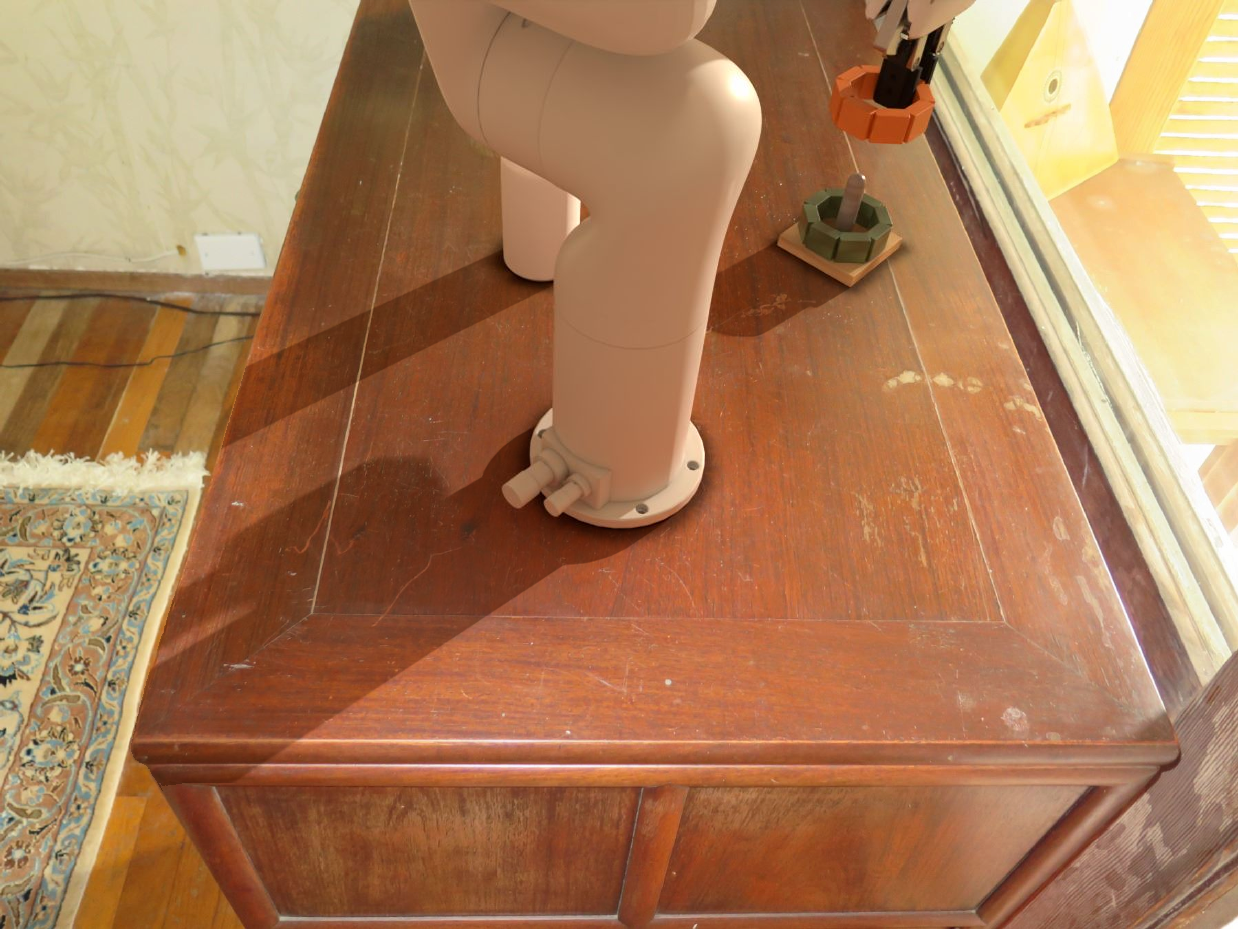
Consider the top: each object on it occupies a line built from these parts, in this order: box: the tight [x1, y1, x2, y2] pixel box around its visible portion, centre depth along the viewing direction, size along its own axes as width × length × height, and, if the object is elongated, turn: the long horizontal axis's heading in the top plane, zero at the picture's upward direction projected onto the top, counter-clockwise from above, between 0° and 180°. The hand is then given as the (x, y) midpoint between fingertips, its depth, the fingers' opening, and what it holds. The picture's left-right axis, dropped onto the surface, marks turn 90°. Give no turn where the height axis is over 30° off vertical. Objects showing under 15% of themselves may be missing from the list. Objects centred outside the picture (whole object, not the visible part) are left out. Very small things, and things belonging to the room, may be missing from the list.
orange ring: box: [828, 64, 936, 145], centre depth 79 cm, size 8×8×2 cm
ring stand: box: [776, 172, 903, 288], centre depth 87 cm, size 8×8×8 cm
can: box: [499, 155, 582, 283], centre depth 81 cm, size 6×6×12 cm
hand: (898, 100), depth 81 cm, fingers closed on orange ring, 1 cm apart
